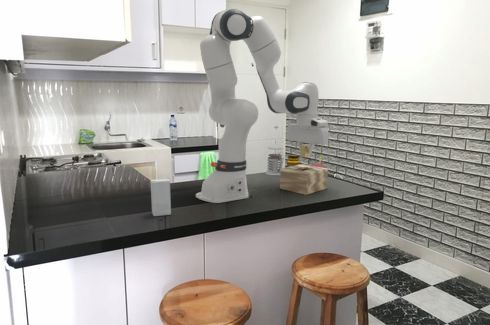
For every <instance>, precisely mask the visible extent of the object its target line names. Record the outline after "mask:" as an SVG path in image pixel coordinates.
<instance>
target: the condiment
mask: <svg viewBox="0 0 490 325" xmlns="http://www.w3.org/2000/svg"><path fill="white" fill-rule="evenodd" d="M295 165H300V155H298V154H288V155H287V161H286V167H291V166H295Z"/></svg>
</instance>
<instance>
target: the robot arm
mask: <svg viewBox="0 0 490 325" xmlns="http://www.w3.org/2000/svg"><path fill="white" fill-rule="evenodd" d="M240 40H242V41H243V42H244V43H245V45H246V46H247V47H248V50H249V52H250V54H251V56H252V58H253V61H254V64H255V68H256V71H257V74H258V76H259V79H260V82H261V84H262V87H263V90H264V93H265V95H266V102H267V106H268V109H269V110H270V111H271V112H272V113H274V114H286V115H287V114H289V115H295V114H296V119H290V120H289V121H288V122H287V126H286V134H285V139H286V140H287V141H290V142H291V141H292V142H297V146H298V147H299V148H298V149H300V145H304V143H305V144H309V146H310V147H309V149H307V153H311V154H312V153H313V149H314V147H315V145H320V146H323V145H327V144H328V143H329V129H328V125H329V124H328V123H329V122H328V120H325V119H323V118H321V117H319V114H318V113H319V112H318V106H319V97H320V96H319V88H318V86H317V84H315V83H312V82H307V81H306V82H305V81H304V82H300V83H299V84H298V85H297V86H296V87H294V88H292V89H290V90H289V89H288V90H285V89H282V88H281V87H280V86H279V84H278V80H277V78H276V75H275V72H274V67H275V66H276V65H277V63H278V62H279V60H280V59H281V54H282V52H281V47H280V45H279V42H278V40H277V38H276V36H275V34H274V32H273V30H272V28H271V26H270V25H269V23H268V22H267V21H266V19H265V18H264V17H263V16H261V15H253V16H249V15H247V14H246V13H245V12H243V11H242V10H239V9H237V8H229V9H227V8H226V9H224V10H221V11H219V12H218V13H216V14H215V15H214V16H213V18H212V21H211V26H210V32H209V35H207V36H205V37H204V38H203V39H201V41H200V45H199V47H200V49H199V50H200V56H201V60H202V65H203V68H204V71H205V74H206V78H207V79H206V80H207V82H208V85H209V89H210V90H209V91H210V98H211V99H210V100H211V101H210V106H209V108H208V114H209V117H210V119H211V120H212V121H214V122H215V123H216V124H219V125H222V126H224V127H225V129H224V132H223V135H222V137H221V138H220V139H219V140H218V159H217V161H216V162H215V161H211V163H210V167H212V168H214V170H213V171H212V172H211V173H210V174H209V175H208V176H207V177H206V178H205V179H204V180H203V182H202V185H201V191H199V192H197V193H195V198H197V199H198V200H201V201H205V202H208V203H213V204H221V203H226V202H232V201H238V200H244V199H249V196H250V195H249V194H250V193H249V190H248V184H247V183H248V181H247V174H246V169H247V160H246V155H247V154H246V151H247V150H246V148H247V141H248V140H247V139H248V135H249V133H250V131H251V128H252V127H253V126H254V125H255V124H256V123H257V121H258V118H259V110H258V107H257V105H256V104H255V103H254V102H251V101H249V100H248V99H244V98H243V99H242V98H237V97H236V92H235V91H236V90H235V89H236V86H237V84H238V77H237V73H236V70H235V69H236V68H235V65H234V61H233V58H232V55H231V51H230V50H231V49H230V48H231V47H230V46H231V43H232V42H237V41H240Z"/></svg>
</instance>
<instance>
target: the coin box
mask: <svg viewBox="0 0 490 325" xmlns="http://www.w3.org/2000/svg"><path fill="white" fill-rule="evenodd" d="M310 165H311V164H310ZM310 165H309V164H303V163H301V164H300V163H299V165H295V166H291V167H287V166H286V167H282V168H281V173H280V175H279V176H280V180H279V189H281V190H285V191H289V192H293V193H297V194H302V195H303V196H304V195H305V196H306V195H310V194H314V193H316V192H319V191H323V190H326V189H327V188H328V177H329V176H328V174H329V173H328V172H329V168H327V167H326V168H321V167H316V166H310Z"/></svg>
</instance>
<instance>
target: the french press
mask: <svg viewBox="0 0 490 325" xmlns="http://www.w3.org/2000/svg"><path fill="white" fill-rule="evenodd" d="M273 128H274V129H278V128H279V126H278V125H275V126H274V127H273ZM267 149H269V150H274V153H270V154H268V157H267V170H266V172H265V175H268V176H280V173H281V168H283V163H284V162H283V161H284V156H283V155H284V153H283V152H282V151H279V150H283V149H284V147H283V146H282V145H280V144H277V141H275V144H270V145H269V146H268V147H267ZM277 150H278V151H277Z"/></svg>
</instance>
